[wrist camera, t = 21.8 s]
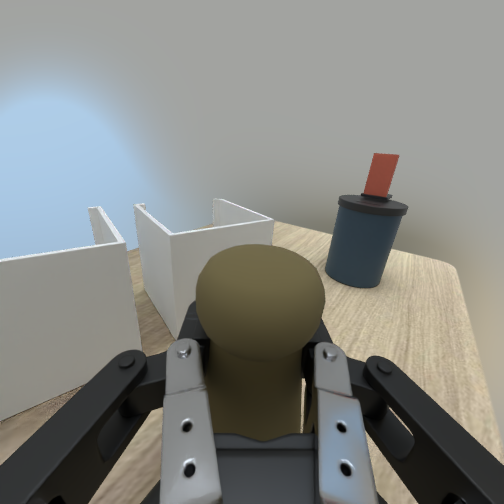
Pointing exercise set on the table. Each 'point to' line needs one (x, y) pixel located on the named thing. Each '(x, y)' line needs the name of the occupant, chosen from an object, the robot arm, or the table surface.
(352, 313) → the table surface
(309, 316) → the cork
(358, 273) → the travel cup
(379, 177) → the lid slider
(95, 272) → the storage container
